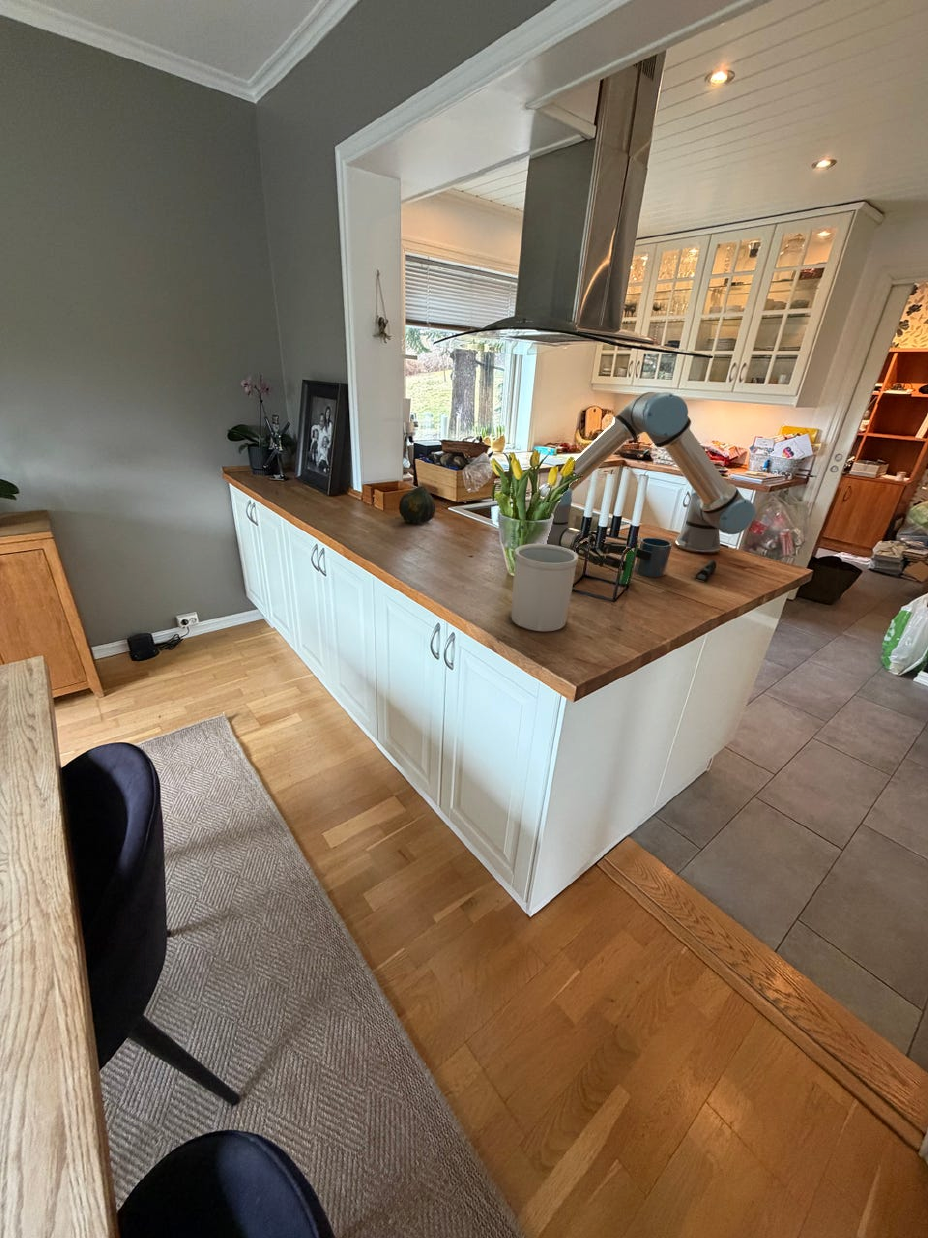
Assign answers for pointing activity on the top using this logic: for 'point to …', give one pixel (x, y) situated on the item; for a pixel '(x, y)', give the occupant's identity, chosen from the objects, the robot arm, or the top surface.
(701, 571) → the electric trimmer
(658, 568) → the cup
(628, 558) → the green marker
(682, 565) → the top surface
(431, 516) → the squash
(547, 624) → the utensil holder
